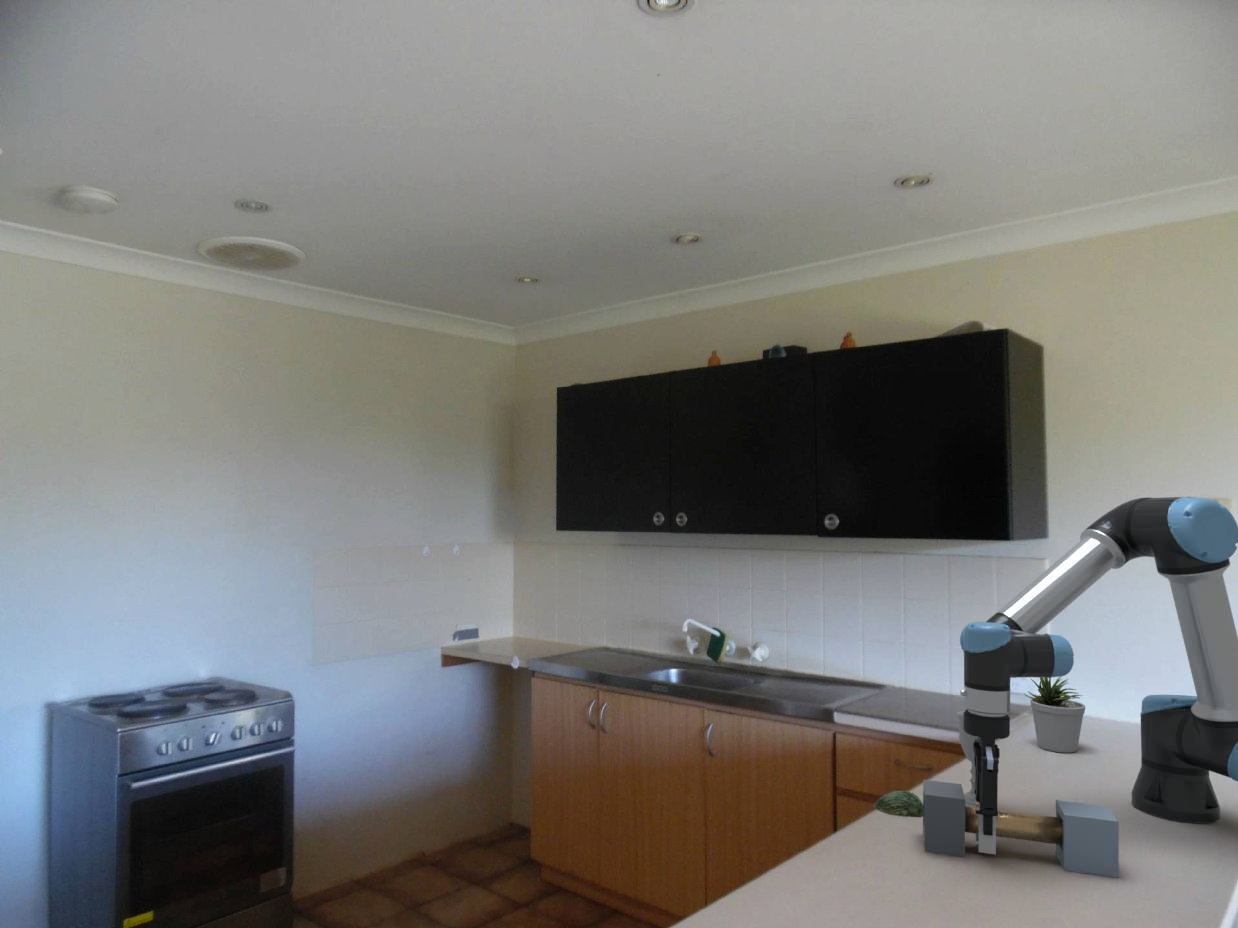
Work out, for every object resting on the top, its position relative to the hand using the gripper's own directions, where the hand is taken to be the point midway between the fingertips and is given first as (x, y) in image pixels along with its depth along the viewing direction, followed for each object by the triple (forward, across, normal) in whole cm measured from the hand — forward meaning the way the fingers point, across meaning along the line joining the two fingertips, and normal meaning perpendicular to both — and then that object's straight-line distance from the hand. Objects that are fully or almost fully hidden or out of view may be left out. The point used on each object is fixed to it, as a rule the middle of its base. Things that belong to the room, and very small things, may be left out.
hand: (985, 846), depth 151 cm
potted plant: (+1, -81, +24) cm, 85 cm away
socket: (+1, 0, -7) cm, 7 cm away
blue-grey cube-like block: (+1, 0, +16) cm, 16 cm away
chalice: (+1, -25, 0) cm, 25 cm away
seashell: (+1, -17, -14) cm, 22 cm away
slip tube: (-2, 0, +3) cm, 3 cm away
